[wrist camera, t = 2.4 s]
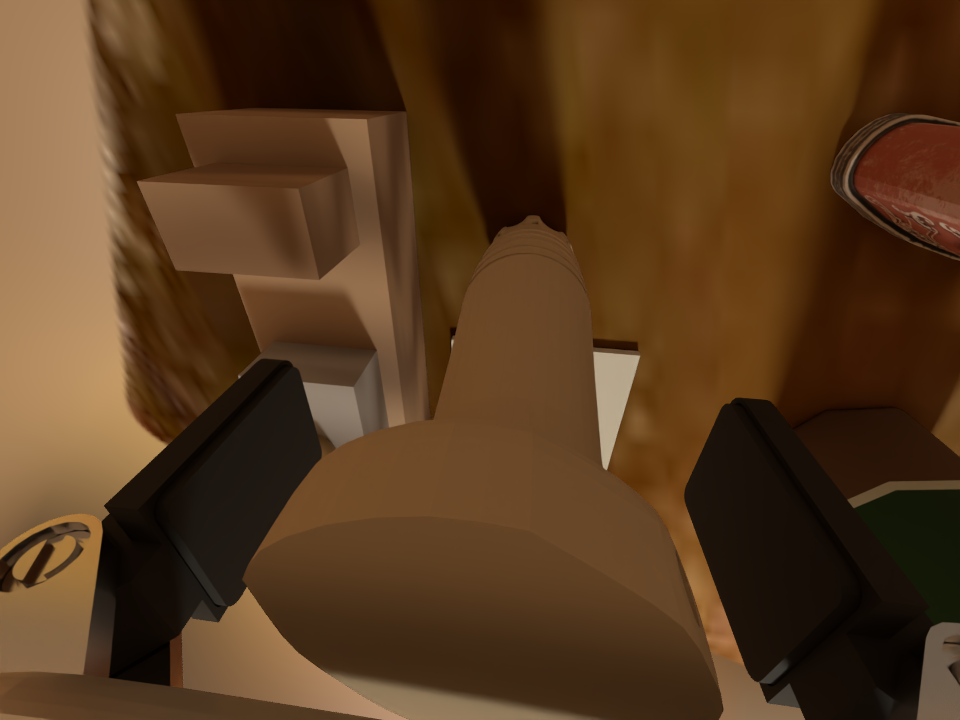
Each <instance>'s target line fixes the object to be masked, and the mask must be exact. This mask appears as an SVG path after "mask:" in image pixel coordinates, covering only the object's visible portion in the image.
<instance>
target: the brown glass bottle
mask: <svg viewBox="0 0 960 720" xmlns="http://www.w3.org/2000/svg"><path fill="white" fill-rule="evenodd" d="M793 430H794V432H795V433H796V434H797V436H798V437H799V438H800V440H801V441H802V442H803V443H804V445H805V446H806V447H807V449H808V450H809V451H810V452H811V454H812V455H813V456H814V458H815V459H816V460H817V461H818V463H819V464H820V465H821V467H822V468H823V469H824V470H825V472H826V473H827V474H828V476H829V477H830V478H831V480H832V481H833V482H834V483H835V485H836V486H837V487H838V489H839V490H840V491H841V492H842V494H843V495H844V496H845V498H846V499H847V500H848V501H849V503H850V504H851V505H852V507H853V508H854V509H855V511H856V512H857V513H858V514H859V516H860V517H861V518H862V520H863V521H864V522H865V523H866V525H867V526H868V527H869V529H870V530H871V531H872V532H873V534H874V535H875V536H876V538H877V539H878V540H879V541H880V543H881V544H882V545H883V547H884V548H885V549H886V551H887V552H888V553H889V554H890V556H891V557H892V558H893V560H894V561H895V562H896V563H897V565H898V566H899V567H900V569H901V570H902V571H903V572H904V574H905V575H906V576H907V578H908V579H909V580H910V582H911V583H912V584H913V585H914V587H915V588H916V589H917V591H918V592H919V593H920V594H921V596H922V597H923V598H924V600H925V601H926V602H927V603H928V605H929V606H930V608H929V609H927V610H926V611H925V613H926V614H927V616H928V617H929V618H930V620H931V621H932V622H933V624H934V625H937V624H940V623H942V622H944V623H960V457H959V456H958V455H957V454H956V453H954V452H953V451H952V450H951V449H950V448H948V447H947V446H946V445H945V444H944V443H942V442H941V441H940V440H939V439H938V438H936V437H935V436H934V435H933V434H931V433H930V432H929V431H928V430H926V429H925V428H924V427H923V426H921V425H920V424H919V423H918V422H916V421H915V420H914V419H913V418H911V417H910V416H909V415H908V414H907V413H905V412H904V411H903V410H900V409H897V408H893V407H889V408H870V409H851V410H831V411H824V412H822V413H821V414H819V415H817V416H815V417H814V418H812V419H810V420H808V421H807V422H805V423H803V424H801V425H800V426H798V427H796V428H794V429H793Z"/></svg>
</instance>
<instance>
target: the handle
mask: <svg viewBox="0 0 960 720" xmlns="http://www.w3.org/2000/svg"><path fill="white" fill-rule="evenodd" d="M242 580H243V582H244V583H245V584H246V586H247V587H248V589H249V590H250V592H251V593H252V595H253V596H254V597H255V599H256V600H257V602H258V603H259V605H260V606H261V607H262V609H263V610H264V612H265V613H266V615H267V616H268V617H269V619H270V620H271V621H272V623H273V624H274V625H275V627H276V628H277V629H278V631H279V632H280V633H281V635H282V636H283V637H284V638H285V639H286V640H287V641H288V642H289V643H290V644H291V645H292V646H293V647H294V649H295V650H296V651H297V652H298V653H300V654H301V655H302V656H304V657H305V658H306V659H308V660H309V661H310V662H312V663H313V664H314V665H316V666H317V667H318V668H320V669H321V670H323V671H324V672H326V673H328V674H329V675H331V676H332V677H334V678H335V679H337V680H338V681H340V682H341V683H343V684H345V685H346V686H347V687H349V688H351V689H352V690H354V691H355V692H357V693H358V694H360V695H362V696H363V697H365V698H366V699H368V700H370V701H372V702H373V703H375V704H377V705H379V706H381V707H382V708H384V709H386V710H388V711H391V712H393V713H395V714H397V715H399V716H402V717H404V718H406V719H409V720H719V718H720V716H721V714H722V712H723V704H722V698H721V693H720V689H719V685H718V680H717V675H716V671H715V667H714V664H713V660H712V656H711V652H710V649H709V645H708V642H707V638H706V635H705V632H704V628H703V625H702V621H701V618H700V615H699V611H698V608H697V605H696V602H695V599H694V596H693V593H692V590H691V587H690V584H689V582H688V579H687V576H686V573H685V571H684V568H683V566H682V563H681V560H680V558H679V555H678V553H677V550H676V548H675V545H674V543H673V541H672V539H671V536H670V534H669V532H668V529H667V528H666V526H665V525H664V523H663V521H662V520H661V518H660V517H659V515H658V513H657V512H656V510H655V509H654V508H653V507H652V506H651V505H649V504H648V503H647V502H646V501H645V500H644V499H643V498H642V497H641V496H640V495H639V494H638V493H637V492H635V491H634V490H633V489H632V488H630V487H629V486H628V485H627V484H625V483H624V482H623V481H621V480H620V479H619V478H618V477H616V476H615V475H613V474H612V473H610V472H609V471H607V470H606V469H604V468H603V464H602V456H601V444H600V432H599V420H598V408H597V396H596V383H595V369H594V354H593V338H592V323H591V311H590V304H589V299H588V295H587V290H586V286H585V282H584V279H583V276H582V273H581V270H580V267H579V264H578V261H577V259H576V257H575V255H574V253H573V250H572V246H571V244H570V242H569V240H568V238H567V236H566V235H565V234H564V233H563V232H557V231H554V230H552V229H551V228H549V227H548V226H546V225H545V224H544V223H543V222H542V220H541V219H540V217H539V216H536V215H528V216H527V217H526V219H525V220H523V221H522V222H521V223H519V224H518V225H515V226H512V227H503V228H502V229H501V230H500V231H499V232H498V234H497V235H496V237H495V238H494V240H493V243H492V244H491V245H490V246H489V248H488V249H487V250H486V252H485V253H484V255H483V257H482V258H481V260H480V262H479V263H478V265H477V267H476V269H475V271H474V273H473V276H472V278H471V281H470V283H469V286H468V288H467V291H466V294H465V296H464V300H463V304H462V308H461V313H460V317H459V321H458V325H457V330H456V334H455V338H454V342H453V346H452V351H451V355H450V359H449V363H448V367H447V371H446V375H445V378H444V382H443V386H442V390H441V394H440V398H439V401H438V405H437V409H436V413H435V417H434V420H426V421H415V422H411V423H407V424H402V425H398V426H394V427H389V428H385V429H381V430H377V431H374V432H372V433H369V434H367V435H364V436H362V437H359V438H357V439H354V440H352V441H349V442H347V443H345V444H343V445H341V446H340V447H338V448H337V449H335V450H334V451H332V452H331V453H329V454H328V455H326V456H325V457H323V458H322V459H321V460H320V461H318V462H317V463H316V464H315V466H314V467H313V468H312V469H311V471H310V472H309V473H308V475H307V476H306V477H305V478H304V480H303V481H302V482H301V484H300V485H299V486H298V488H297V489H296V490H295V491H294V493H293V494H292V496H291V497H290V499H289V500H288V502H287V504H286V505H285V507H284V508H283V510H282V511H281V513H280V514H279V516H278V518H277V519H276V521H275V522H274V524H273V525H272V527H271V529H270V530H269V532H268V534H267V535H266V537H265V538H264V540H263V542H262V543H261V545H260V546H259V548H258V550H257V551H256V553H255V555H254V556H253V558H252V559H251V561H250V563H249V564H248V566H247V569H246V571H245V574H244V576H243V579H242Z"/></svg>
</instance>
